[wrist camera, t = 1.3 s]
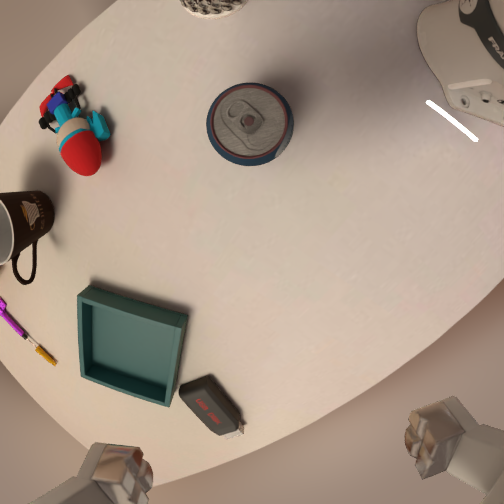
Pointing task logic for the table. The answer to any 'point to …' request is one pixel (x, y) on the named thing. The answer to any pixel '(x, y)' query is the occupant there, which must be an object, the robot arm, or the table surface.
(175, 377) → the bin
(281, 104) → the soda can
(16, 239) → the coffee mug
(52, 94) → the toy figure
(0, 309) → the purple orange rod tool
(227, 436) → the usb drive
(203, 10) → the decorative candle
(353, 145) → the table surface
